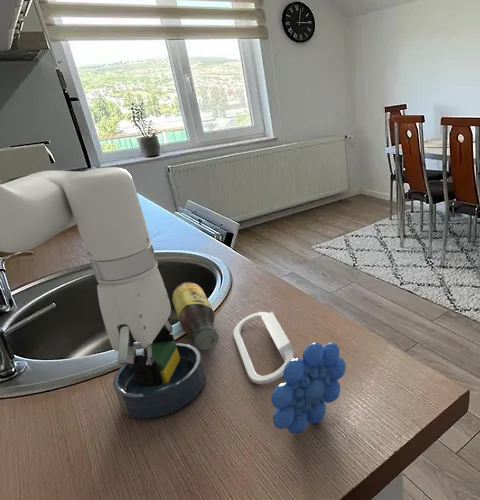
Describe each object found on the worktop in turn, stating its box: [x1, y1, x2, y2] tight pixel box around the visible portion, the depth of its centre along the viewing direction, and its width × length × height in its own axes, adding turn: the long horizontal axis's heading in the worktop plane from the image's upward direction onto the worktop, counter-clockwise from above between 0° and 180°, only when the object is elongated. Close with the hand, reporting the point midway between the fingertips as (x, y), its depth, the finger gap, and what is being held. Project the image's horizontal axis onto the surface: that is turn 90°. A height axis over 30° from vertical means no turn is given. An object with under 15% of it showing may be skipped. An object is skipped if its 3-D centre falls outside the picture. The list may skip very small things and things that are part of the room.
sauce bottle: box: [171, 281, 219, 352], centre depth 79 cm, size 6×6×20 cm
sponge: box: [141, 340, 180, 384], centre depth 62 cm, size 4×6×4 cm
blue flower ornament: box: [270, 342, 347, 435], centre depth 55 cm, size 12×7×12 cm, turn 130°
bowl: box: [112, 342, 207, 419], centre depth 63 cm, size 12×12×4 cm
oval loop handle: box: [232, 311, 297, 385], centre depth 71 cm, size 20×8×4 cm, turn 25°
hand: (160, 369), depth 63 cm, fingers closed on sponge, 5 cm apart
